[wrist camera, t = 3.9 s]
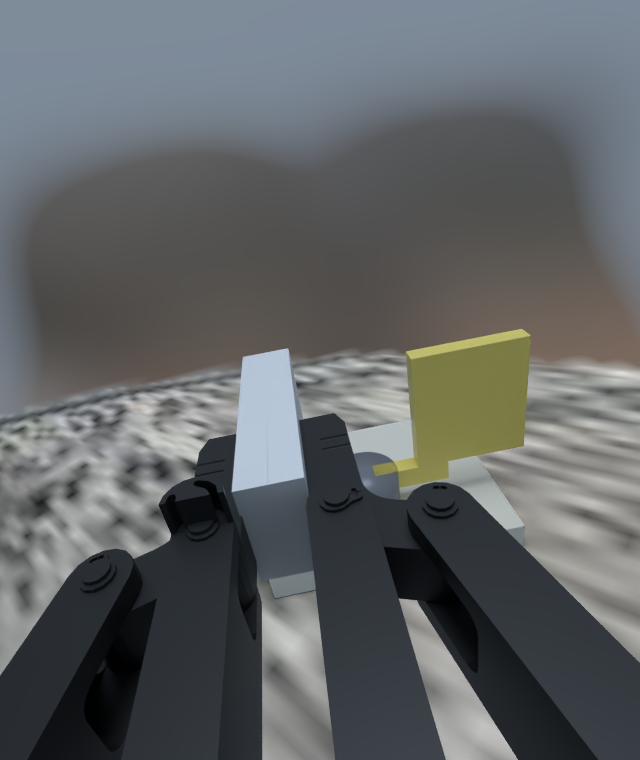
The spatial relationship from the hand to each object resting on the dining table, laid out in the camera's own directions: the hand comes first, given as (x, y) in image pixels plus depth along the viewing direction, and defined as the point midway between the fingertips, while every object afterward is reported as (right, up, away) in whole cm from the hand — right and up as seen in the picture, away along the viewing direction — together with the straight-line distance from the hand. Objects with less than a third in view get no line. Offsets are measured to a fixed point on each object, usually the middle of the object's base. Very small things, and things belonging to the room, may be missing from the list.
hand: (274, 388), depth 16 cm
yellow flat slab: (+10, -8, +21) cm, 25 cm away
